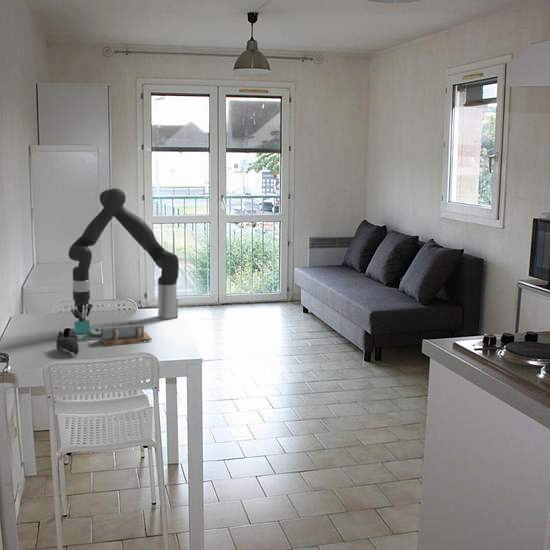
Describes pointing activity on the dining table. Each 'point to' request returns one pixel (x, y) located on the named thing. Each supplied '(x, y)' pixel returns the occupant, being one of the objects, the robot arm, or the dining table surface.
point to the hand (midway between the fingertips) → (82, 326)
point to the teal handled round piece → (85, 328)
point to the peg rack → (127, 339)
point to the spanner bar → (121, 331)
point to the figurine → (67, 344)
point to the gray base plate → (90, 337)
